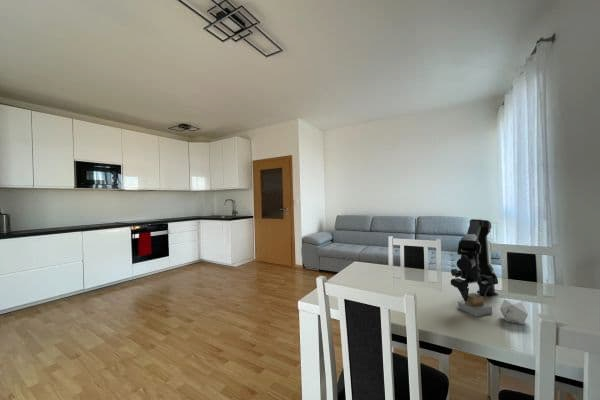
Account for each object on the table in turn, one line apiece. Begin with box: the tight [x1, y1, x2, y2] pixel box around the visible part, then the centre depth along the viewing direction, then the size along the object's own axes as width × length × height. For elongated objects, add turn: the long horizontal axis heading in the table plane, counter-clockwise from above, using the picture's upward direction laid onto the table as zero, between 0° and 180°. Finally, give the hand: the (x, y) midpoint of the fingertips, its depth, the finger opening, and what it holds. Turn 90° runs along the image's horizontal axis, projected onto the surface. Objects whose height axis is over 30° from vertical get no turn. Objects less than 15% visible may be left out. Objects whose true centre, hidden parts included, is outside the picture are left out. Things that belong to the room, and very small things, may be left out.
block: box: [465, 292, 485, 307], centre depth 107 cm, size 5×5×4 cm
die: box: [499, 299, 529, 325], centre depth 96 cm, size 8×9×10 cm
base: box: [457, 300, 493, 317], centre depth 107 cm, size 9×9×3 cm
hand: (473, 299), depth 107 cm, fingers open, 9 cm apart
